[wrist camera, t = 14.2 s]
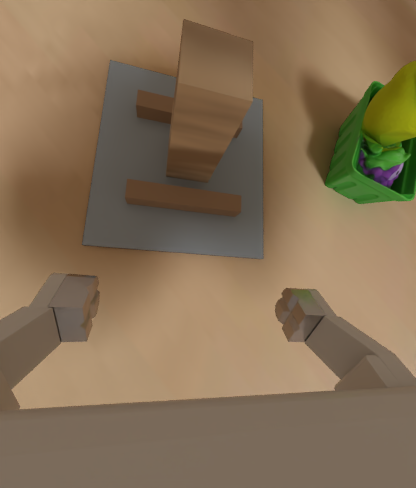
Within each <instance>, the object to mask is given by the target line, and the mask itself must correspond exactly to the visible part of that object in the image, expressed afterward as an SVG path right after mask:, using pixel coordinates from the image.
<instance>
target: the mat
mask: <svg viewBox="0 0 416 488" xmlns="http://www.w3.org/2000/svg"><path fill="white" fill-rule="evenodd" d="M175 85H176V77H173V76H169V75H165V74H162V73H158V72H154V71H150V70H146V69H142V68H139V67H135V66H131V65H127V64H123V63H120V62H116V61H112V60H110V65H109V72H108V78H107V85H106V91H105V98H104V104H103V111H102V118H101V124H100V131H99V137H98V144H97V150H96V157H95V163H94V170H93V177H92V183H91V190H90V196H89V203H88V209H87V216H86V222H85V229H84V235H83V242H82V245H88V246H101V247H114V248H126V249H139V250H152V251H165V252H178V253H191V254H204V255H217V256H229V257H242V258H255V259H263V100H261V99H257V98H253V102H252V104H251V106H250V108H249V109H248V111H247V113H246V115H245V117H244V118H243V120H242V122H241V124H240V126H239V127H238V129H237V131H236V133H235V135H234V136H233V138H232V140H231V142H230V144H229V145H228V147H227V149H226V151H225V152H224V154H223V156H222V158H221V160H220V161H219V163H218V165H217V167H216V169H215V170H214V172H213V174H212V176H211V178H210V179H209V181H208V183H205V182H199V181H192V180H186V179H179V178H173V177H167V176H166V167H167V156H168V144H169V134H170V126H171V118H172V110H173V101H174V93H175Z"/></svg>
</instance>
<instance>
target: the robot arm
mask: <svg viewBox="0 0 416 488" xmlns="http://www.w3.org/2000/svg"><path fill="white" fill-rule="evenodd" d="M98 285H99V280H98V277H97V276H89V275H78V274H62V273H53V274H51V275H50V276H49V278H48V279H47V280H46V282H45V283H44V285H43V286H42V288H41V289H40V291H39V292H38V294H37V295H36V297H35V298H34V300H33V301H32V303H31V304H30V306H29V307H22V308H21V309H19V310H17V311H15V312H14V313H12V314H10V315H8V316H7V317H5V318H3V319H1V320H0V488H416V378H415V377H414V376H413V375H412V374H411V372H410V371H409V370H408V369H407V368H406V367H405V365H404V364H403V363H402V362H401V361H400V360H399V358H398V357H397V356H396V355H395V354H394V353H392V352H391V351H390V350H388V349H387V348H385V347H384V346H382V345H381V344H379V343H378V342H376V341H375V340H373V339H372V338H370V337H369V336H368V335H366V334H365V333H363V332H362V331H360V330H359V329H357V328H356V327H354V326H353V325H351V324H350V323H348V322H347V321H346V320H344V319H343V318H341V317H337V316H336V314H335V313H334V312H333V310H332V309H331V308H330V306H329V305H328V304H327V302H326V301H325V300H324V298H323V297H322V296H321V294H320V293H319V292H318V291H317V290H315V289H297V288H286V289H284V290H283V292H282V298H281V299H279V300H278V301H277V303H276V305H275V313H276V317H277V319H278V321H280V322H281V323H282V324H283V327H282V330H283V332H284V334H285V336H286V338H287V340H288V342H305V344H306V345H307V346H308V347H309V348H310V349H311V350H312V351H313V352H314V353H315V354H316V355H317V356H318V357H319V358H320V359H321V360H322V361H323V362H324V363H325V364H326V365H327V366H328V367H329V368H330V369H331V370H332V371H333V372H334V373H335V374H336V375H337V376H338V377H339V378H340V379H341V380H340V381H339V382H338V383H337V384H336V385H335V388H334V389H335V391H320V392H303V393H286V394H269V395H252V396H235V397H219V398H202V399H185V400H169V401H152V402H135V403H119V404H102V405H85V406H68V407H52V408H35V409H19V408H20V405H19V403H18V401H17V399H16V398H15V396H14V394H13V392H12V390H11V389H12V388H13V387H14V386H16V385H17V384H18V383H19V382H20V381H21V380H22V379H23V378H24V377H25V376H26V375H27V374H28V373H30V372H31V371H32V370H33V369H34V368H35V367H36V366H37V365H38V364H39V363H40V362H41V361H42V360H44V359H45V358H46V357H47V356H48V355H49V354H50V353H51V352H52V351H53V350H54V349H55V348H56V347H58V346H59V345H60V344H61V342H82V341H87V340H88V337H89V334H90V331H91V328H92V318H94V317H95V316H96V314H97V310H98V306H99V299H100V293H99V291H98V290H97V287H98Z"/></svg>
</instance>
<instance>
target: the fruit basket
mask: <svg viewBox="0 0 416 488" xmlns="http://www.w3.org/2000/svg"><path fill="white" fill-rule="evenodd" d="M325 185H326V186H327V187H329V188H333V189H334V190H335V191H336V192H338V193H340V194H342V195H343V196H345V197H347V198H349V199H353V200H354V201H355V202H356V203H358V204H364V203H374V202H385V201H411V200H413V199H414V197H415V192H416V61H413V62H410V63H408V64H407V65H405V66H404V67H402V68H401V69H400V70H399V71H398V72H397V73H396V74H395V76H394V77H393V78H392V80H391V81H390V82H389V83H388V84H386V85H385V86H384V85H383V84H381V83H380V82H377V81H374V82H372V83H371V85H370V86H369V88H368V89H367V91H366V92H365V94H364V96H363V98H362V99H361V100H360V102H359V103H358V104H357V106H356V107H355V108H354V110H353V111H352V112H351V114H350V115H349V116H348V118H347V119H346V120H345V122H344V123H343V124H342V126H341V128H340V131H339V139H338V140H337V142H336V146H335V149H334V156H333V157H332V160H331V164H330V172H329V173H328V175H327V178H326V182H325Z"/></svg>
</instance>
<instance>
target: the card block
mask: <svg viewBox="0 0 416 488" xmlns="http://www.w3.org/2000/svg"><path fill="white" fill-rule="evenodd" d="M252 102H253V41H250V40H247V39H244V38H241V37H238V36H234V35H231V34H228V33H225V32H222V31H219V30H216V29H213V28H210V27H207V26H204V25H201V24H198V23H195V22H192V21H189V20H186V19H184V20H183V28H182V36H181V44H180V52H179V61H178V69H177V77H176V85H175V93H174V101H173V110H172V118H171V126H170V134H169V144H168V156H167V167H166V176H167V177H173V178H179V179H186V180H192V181H199V182H205V183H208V181H209V179H210V178H211V176H212V174H213V172H214V170H215V169H216V167H217V165H218V163H219V161H220V160H221V158H222V156H223V154H224V152H225V151H226V149H227V147H228V145H229V144H230V142H231V140H232V138H233V136H234V135H235V133H236V131H237V129H238V127H239V126H240V124H241V122H242V120H243V118H244V117H245V115H246V113H247V111H248V109H249V108H250V106H251V104H252Z"/></svg>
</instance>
